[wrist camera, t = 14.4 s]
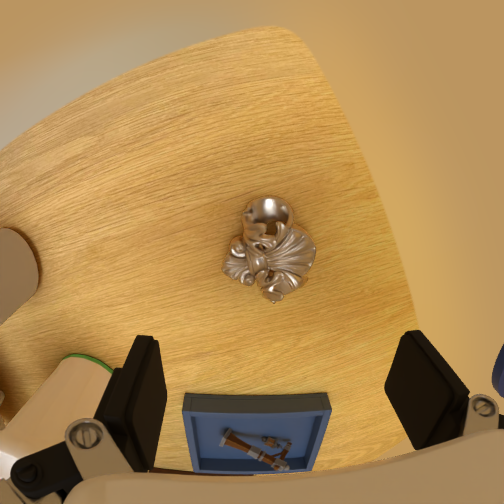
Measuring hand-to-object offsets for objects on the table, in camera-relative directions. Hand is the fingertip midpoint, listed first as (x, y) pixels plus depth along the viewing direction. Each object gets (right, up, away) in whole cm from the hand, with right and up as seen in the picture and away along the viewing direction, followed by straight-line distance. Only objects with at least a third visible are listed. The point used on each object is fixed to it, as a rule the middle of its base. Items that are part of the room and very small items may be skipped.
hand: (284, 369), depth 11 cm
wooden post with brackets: (-1, -16, +20) cm, 26 cm away
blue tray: (-1, -16, +21) cm, 26 cm away
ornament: (0, +5, +14) cm, 14 cm away
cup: (-19, -10, +18) cm, 28 cm away
